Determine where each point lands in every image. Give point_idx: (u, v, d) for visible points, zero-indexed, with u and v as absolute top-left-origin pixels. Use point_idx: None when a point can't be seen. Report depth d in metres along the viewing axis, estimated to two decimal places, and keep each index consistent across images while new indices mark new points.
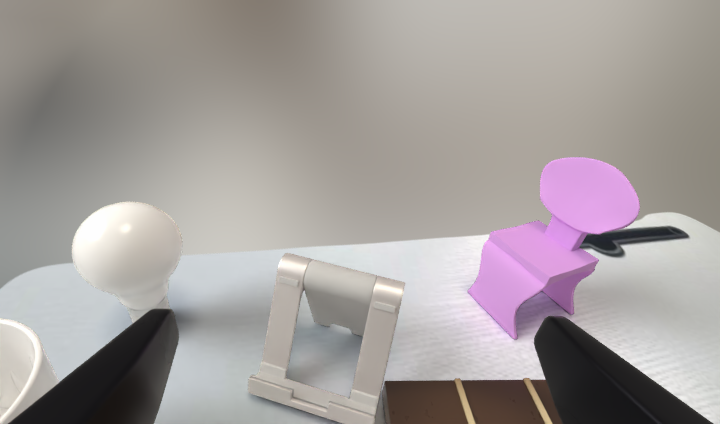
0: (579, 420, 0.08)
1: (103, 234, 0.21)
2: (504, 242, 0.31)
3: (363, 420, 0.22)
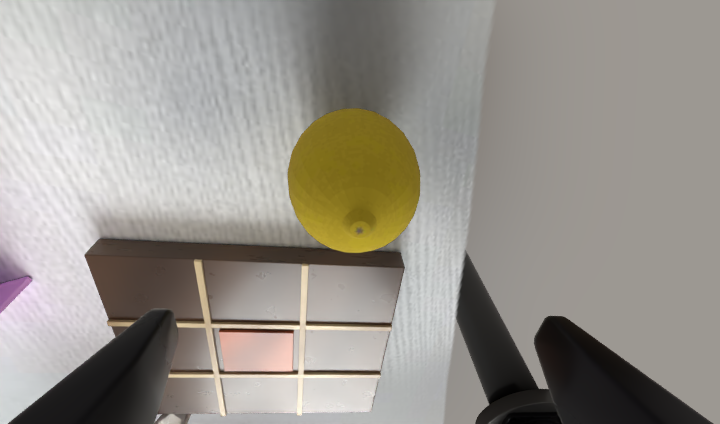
0: (579, 420, 0.08)
1: None
2: None
3: None
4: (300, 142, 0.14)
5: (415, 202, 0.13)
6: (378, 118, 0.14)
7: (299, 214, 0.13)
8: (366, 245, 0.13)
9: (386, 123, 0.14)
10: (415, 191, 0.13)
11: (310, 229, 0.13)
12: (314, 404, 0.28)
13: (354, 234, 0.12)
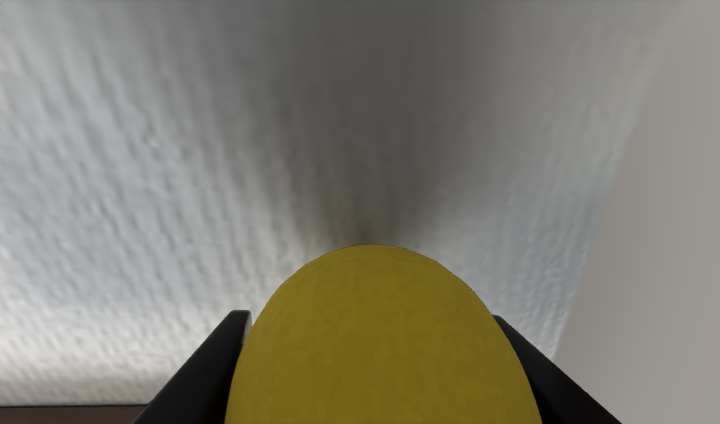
0: None
1: None
2: None
3: None
4: (247, 376, 0.05)
5: None
6: (446, 316, 0.05)
7: None
8: None
9: (467, 329, 0.05)
10: None
11: None
12: None
13: None
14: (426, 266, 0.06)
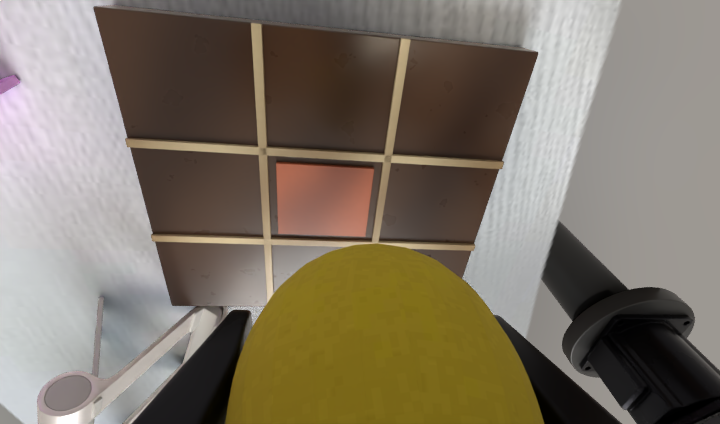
0: None
1: None
2: None
3: None
4: (248, 376, 0.05)
5: None
6: (448, 314, 0.05)
7: None
8: None
9: (468, 328, 0.05)
10: None
11: None
12: None
13: None
14: (427, 265, 0.06)
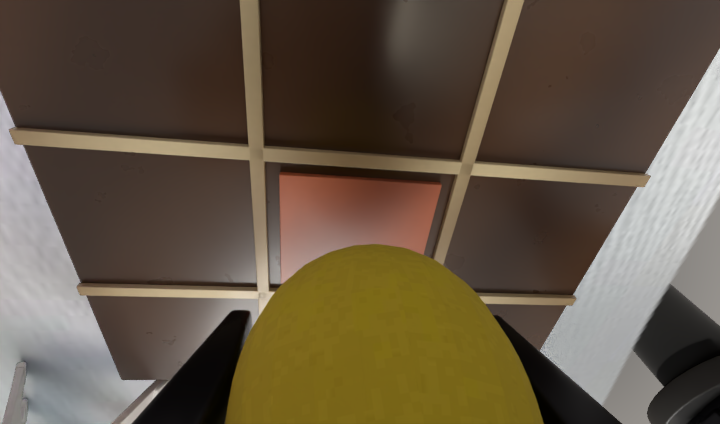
0: None
1: None
2: None
3: None
4: (248, 377, 0.05)
5: None
6: (447, 315, 0.05)
7: None
8: None
9: (468, 328, 0.05)
10: None
11: None
12: None
13: None
14: (426, 266, 0.06)
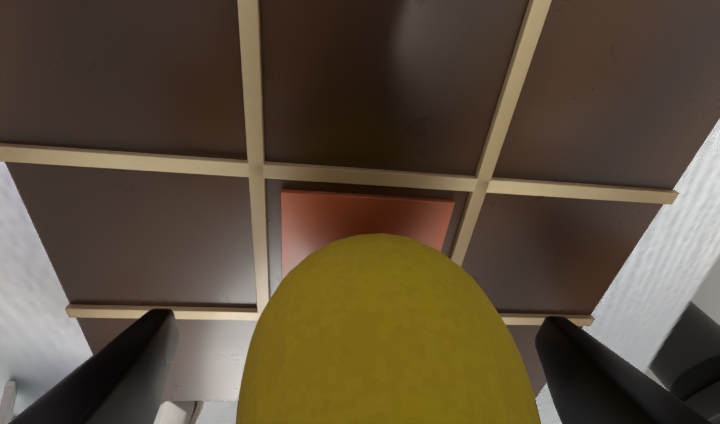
0: (579, 420, 0.08)
1: None
2: None
3: None
4: (262, 350, 0.06)
5: None
6: (445, 294, 0.06)
7: None
8: None
9: (464, 306, 0.06)
10: None
11: None
12: None
13: None
14: (426, 252, 0.07)
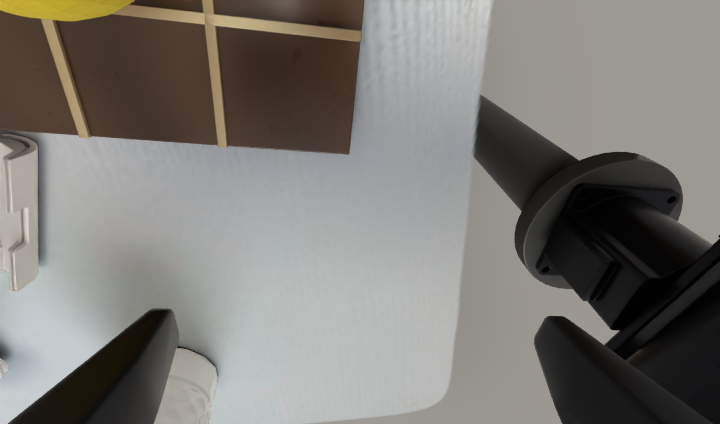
0: (579, 420, 0.08)
1: None
2: None
3: (20, 169, 0.16)
4: None
5: None
6: None
7: None
8: None
9: None
10: None
11: None
12: (247, 123, 0.16)
13: None
14: None
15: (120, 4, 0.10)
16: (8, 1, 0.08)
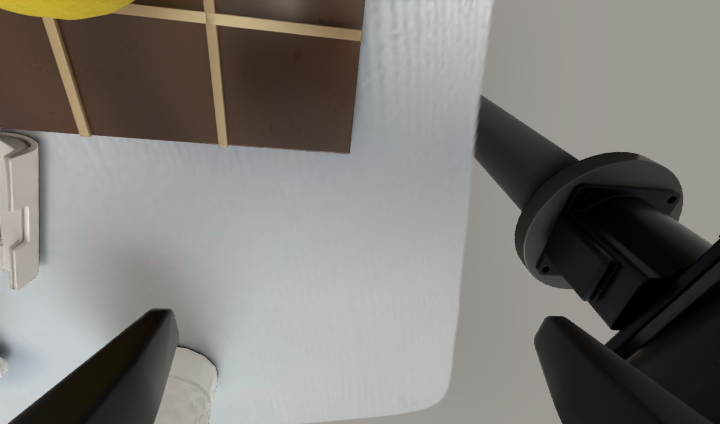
0: (579, 420, 0.08)
1: None
2: None
3: (21, 167, 0.16)
4: None
5: None
6: None
7: None
8: None
9: None
10: None
11: None
12: (247, 122, 0.16)
13: None
14: None
15: (121, 3, 0.10)
16: None
